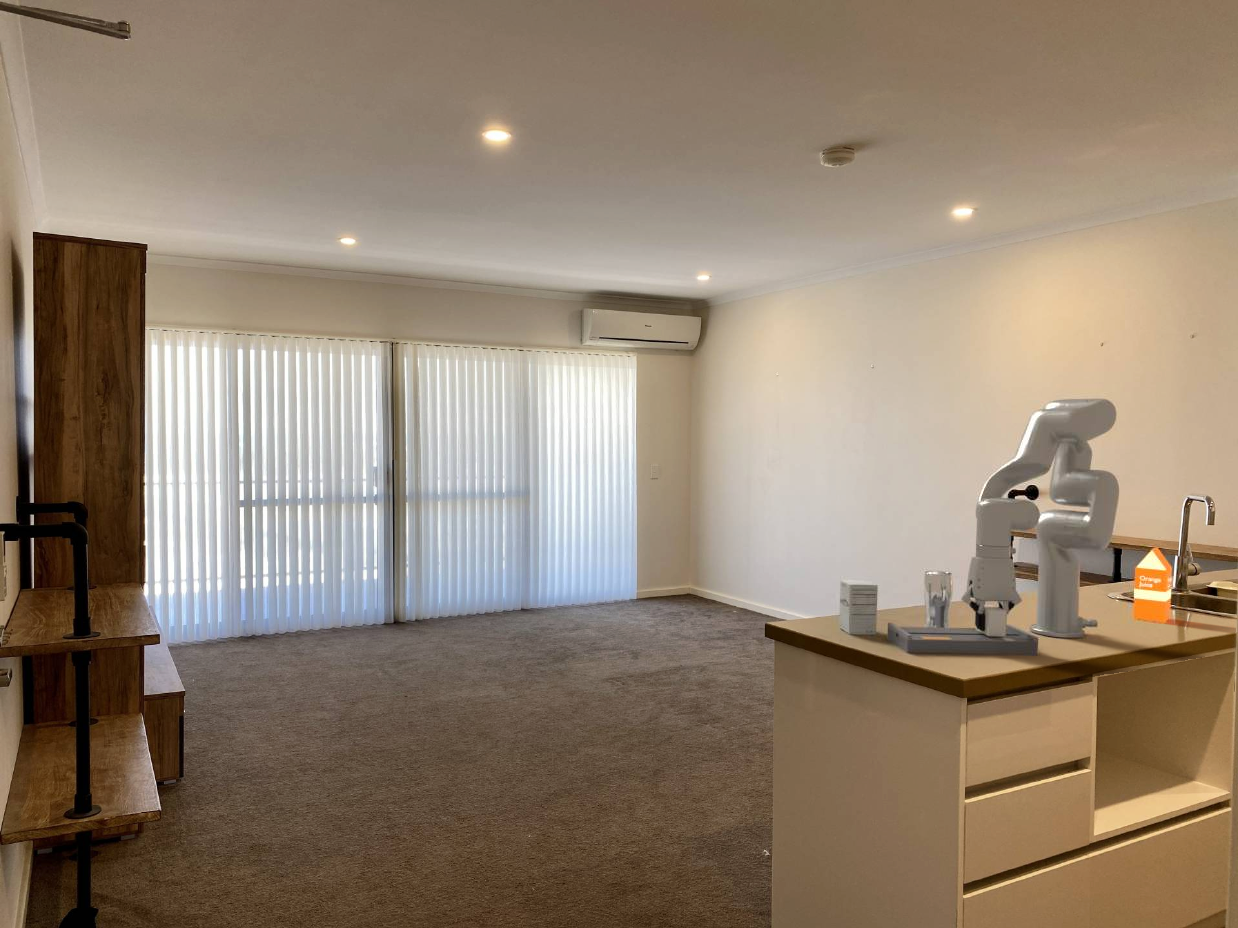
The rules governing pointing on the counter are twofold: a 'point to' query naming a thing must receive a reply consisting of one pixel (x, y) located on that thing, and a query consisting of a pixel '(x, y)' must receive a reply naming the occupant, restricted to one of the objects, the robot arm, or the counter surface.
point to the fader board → (962, 640)
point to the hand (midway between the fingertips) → (990, 628)
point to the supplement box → (858, 607)
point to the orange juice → (1153, 588)
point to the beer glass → (937, 598)
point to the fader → (994, 621)
